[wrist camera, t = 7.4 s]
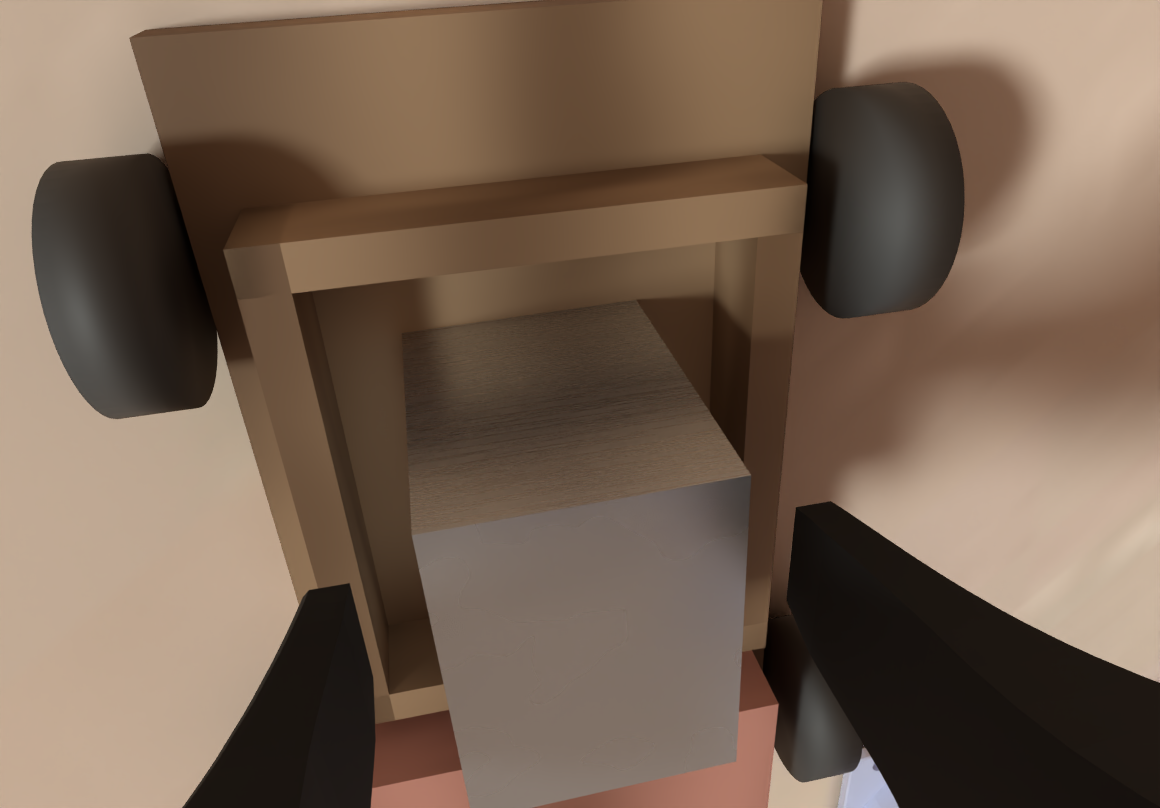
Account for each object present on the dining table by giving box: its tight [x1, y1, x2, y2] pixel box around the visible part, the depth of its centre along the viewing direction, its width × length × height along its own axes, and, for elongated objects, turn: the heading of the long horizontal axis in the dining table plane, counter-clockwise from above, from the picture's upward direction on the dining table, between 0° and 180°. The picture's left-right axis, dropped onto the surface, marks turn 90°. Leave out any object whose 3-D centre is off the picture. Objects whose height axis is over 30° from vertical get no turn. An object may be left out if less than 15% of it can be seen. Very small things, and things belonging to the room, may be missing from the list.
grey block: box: [402, 300, 751, 808], centre depth 15 cm, size 4×6×6 cm
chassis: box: [32, 0, 964, 808], centre depth 18 cm, size 14×20×4 cm
